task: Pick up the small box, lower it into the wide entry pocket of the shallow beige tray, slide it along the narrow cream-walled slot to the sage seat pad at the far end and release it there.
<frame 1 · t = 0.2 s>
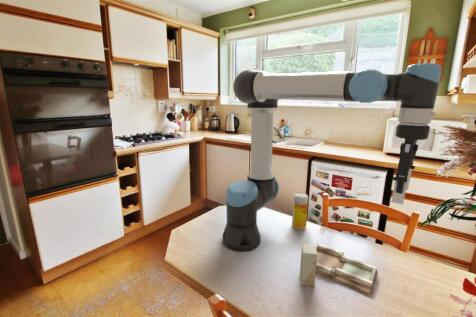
hand: (400, 195, 74), 28 cm above the table, fingers open, 13 cm apart
glass of beer: (298, 226, 109), on the table
box: (306, 280, 78), on the table
shallow beige tray: (339, 268, 83), on the table
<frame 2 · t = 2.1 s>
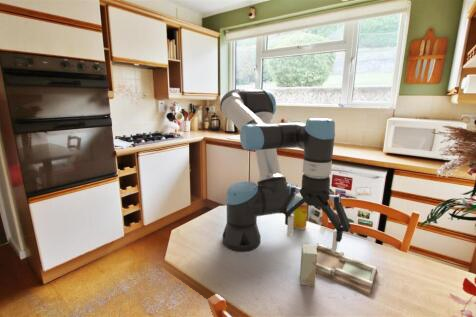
hand: (310, 242, 74), 14 cm above the table, fingers open, 13 cm apart
nothing on the table moved.
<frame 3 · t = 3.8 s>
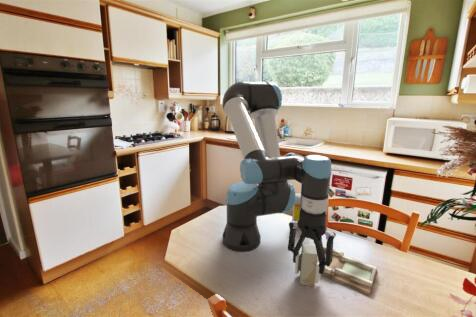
hand: (307, 276, 78), 1 cm above the table, fingers closed on box, 6 cm apart
box: (306, 280, 78), on the table, touching gripper
everything else where it was.
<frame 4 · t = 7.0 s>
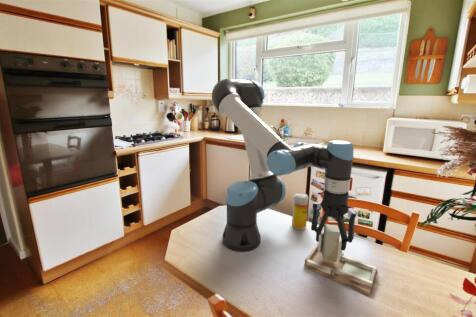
hand: (329, 253, 84), 4 cm above the table, fingers closed on box, 6 cm apart
box: (328, 257, 84), point 3 cm above the table, touching gripper
everything else where it was.
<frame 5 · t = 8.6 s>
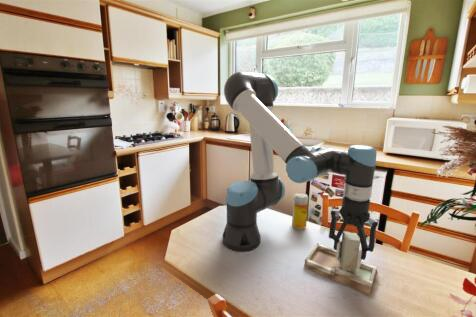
hand: (347, 262, 81), 4 cm above the table, fingers closed on box, 6 cm apart
box: (347, 266, 81), point 2 cm above the table, touching gripper
everything else where it was.
when the fingers open (3 cm above the table, at t = 10.1 s): box stays where it is, resting on shallow beige tray.
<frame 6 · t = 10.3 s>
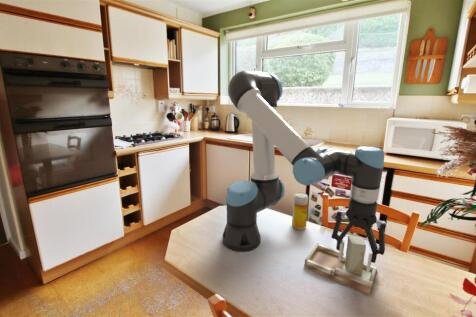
hand: (354, 264, 80), 4 cm above the table, fingers open, 8 cm apart
box: (352, 270, 80), point 1 cm above the table, touching shallow beige tray
everything else where it was.
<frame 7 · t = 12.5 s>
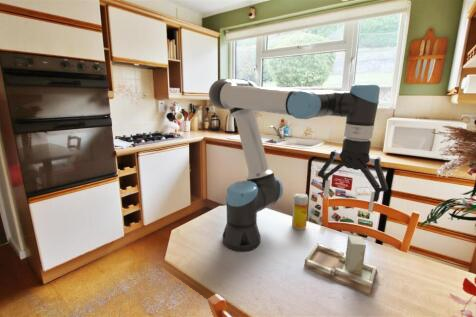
hand: (346, 203, 79), 23 cm above the table, fingers open, 13 cm apart
nothing on the table moved.
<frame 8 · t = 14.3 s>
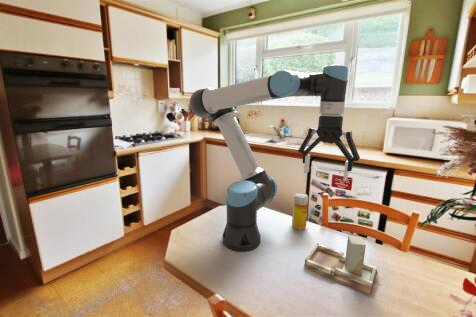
hand: (325, 176, 87), 29 cm above the table, fingers open, 13 cm apart
nothing on the table moved.
at the end: box 1.1 cm from the target spot on the shallow beige tray, point 1.1 cm above the shallow beige tray's base; box tilted 0°; the gripper is holding nothing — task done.
